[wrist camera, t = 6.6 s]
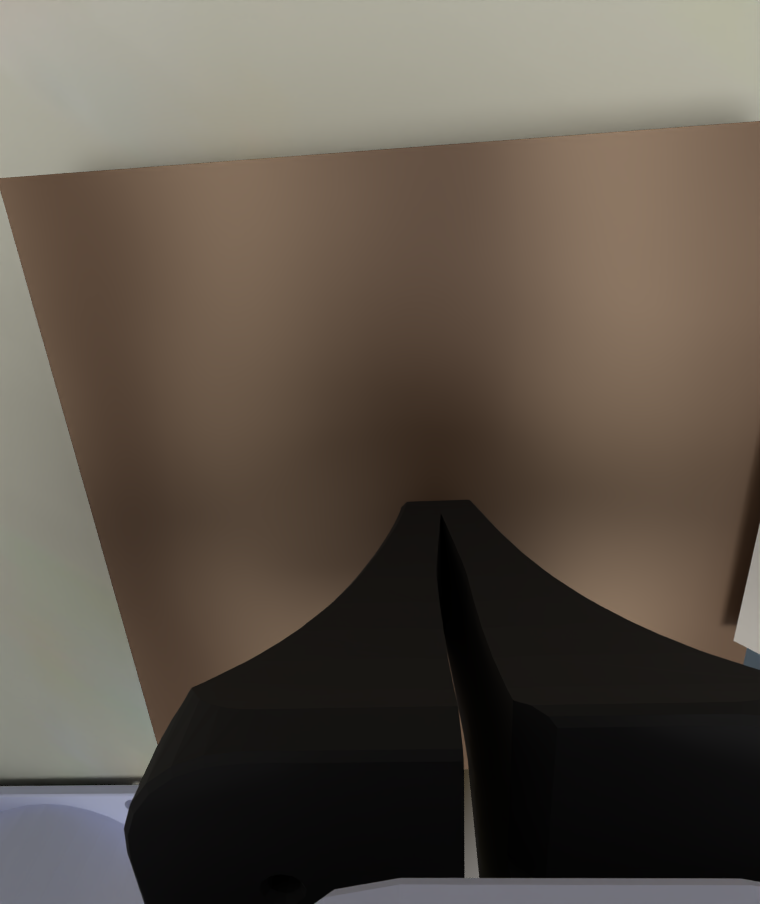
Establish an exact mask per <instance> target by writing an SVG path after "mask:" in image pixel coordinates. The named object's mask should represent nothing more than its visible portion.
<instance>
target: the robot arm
mask: <svg viewBox="0 0 760 904" xmlns="http://www.w3.org/2000/svg"><path fill="white" fill-rule="evenodd" d="M448 659H449V660H448ZM449 664H450V665H449ZM450 669H451V670H450ZM451 674H452V675H451ZM452 679H453V680H452ZM453 684H454V685H453ZM454 689H455V690H454ZM455 694H456V695H455ZM459 713H460V718H461V723H462V728H463V733H464V740H465V746H466V752H467V759H468V768H469V778H470V788H471V797H472V807H473V817H474V827H475V837H476V848H477V858H478V868H479V878H464V756H463V744H462V736H461V727H460V718H459ZM0 904H760V670H758V669H755V668H752V667H749V666H746V665H743V664H740V663H737V662H734V661H730V660H727V659H724V658H721V657H718V656H715V655H712V654H709V653H706V652H703V651H700V650H698V649H695V648H692V647H690V646H687V645H685V644H682V643H680V642H678V641H675V640H673V639H670V638H668V637H665V636H663V635H660V634H658V633H655V632H653V631H651V630H649V629H647V628H644V627H642V626H640V625H638V624H636V623H633V622H631V621H629V620H627V619H625V618H623V617H622V616H620V615H618V614H616V613H614V612H612V611H610V610H608V609H606V608H604V607H602V606H600V605H598V604H597V603H595V602H593V601H591V600H590V599H588V598H586V597H584V596H583V595H581V594H580V593H578V592H576V591H575V590H573V589H572V588H570V587H569V586H567V585H566V584H564V583H562V582H561V581H559V580H558V579H556V578H555V577H553V576H552V575H551V574H549V573H548V572H546V571H545V570H544V569H542V568H541V567H540V566H539V565H537V564H536V563H535V562H534V561H532V560H531V559H530V558H529V557H527V556H526V555H525V554H524V553H522V552H521V551H520V550H519V549H518V548H517V547H516V546H515V545H514V544H513V543H511V542H510V541H509V540H508V539H507V538H506V537H505V536H504V535H503V534H502V533H501V532H500V531H499V530H498V529H497V528H496V527H495V526H494V525H493V524H492V523H491V522H490V521H489V520H488V519H487V518H486V516H485V515H484V514H483V513H482V512H481V511H480V510H479V509H478V508H477V507H476V506H475V505H474V504H473V503H472V502H471V501H470V500H442V501H414V502H406V503H405V504H404V505H403V506H402V507H401V510H400V513H399V515H398V517H397V519H396V521H395V523H394V525H393V527H392V528H391V530H390V532H389V534H388V535H387V537H386V538H385V540H384V541H383V543H382V544H381V546H380V547H379V549H378V550H377V552H376V553H375V555H374V556H373V557H372V558H371V560H370V561H369V562H368V564H367V565H366V566H365V567H364V569H363V570H362V571H361V572H360V574H359V575H358V576H357V577H356V578H355V580H354V581H353V582H352V583H351V584H350V585H349V586H348V587H347V588H346V589H345V590H344V591H343V592H342V593H341V594H340V595H339V596H338V597H337V598H336V599H335V600H334V601H333V602H332V603H331V604H330V605H329V606H328V607H326V608H325V609H324V610H323V611H321V612H320V613H319V614H318V615H316V616H315V617H314V618H313V619H311V620H310V621H309V622H307V623H306V624H305V625H304V626H302V627H301V628H300V629H298V630H297V631H295V632H294V633H292V634H291V635H289V636H288V637H286V638H285V639H283V640H282V641H280V642H279V643H277V644H275V645H274V646H272V647H270V648H269V649H267V650H265V651H264V652H262V653H261V654H259V655H257V656H255V657H253V658H252V659H250V660H248V661H246V662H244V663H242V664H240V665H238V666H236V667H234V668H232V669H230V670H228V671H226V672H224V673H222V674H220V675H218V676H216V677H214V678H212V679H210V680H208V681H206V682H203V683H201V684H199V685H197V686H194V687H192V688H191V689H190V691H189V692H188V694H187V696H186V698H185V699H184V701H183V703H182V705H181V706H180V708H179V709H178V711H177V712H176V714H175V715H174V717H173V718H172V720H171V722H170V724H169V725H168V727H167V729H166V731H165V733H164V734H163V736H162V738H161V740H160V742H159V744H158V746H157V748H156V750H155V752H154V754H153V756H152V759H151V761H150V763H149V765H148V767H147V769H146V771H145V774H144V776H143V778H142V780H141V782H140V784H139V785H68V786H0Z"/></svg>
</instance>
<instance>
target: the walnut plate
mask: <svg viewBox="0 0 760 904" xmlns="http://www.w3.org/2000/svg"><path fill="white" fill-rule="evenodd" d="M0 191H1V194H2V198H3V201H4V205H5V208H6V212H7V215H8V219H9V222H10V226H11V229H12V233H13V236H14V240H15V244H16V247H17V251H18V254H19V258H20V261H21V265H22V268H23V272H24V275H25V279H26V282H27V286H28V289H29V293H30V296H31V300H32V303H33V307H34V311H35V314H36V318H37V321H38V325H39V328H40V332H41V335H42V339H43V342H44V346H45V349H46V353H47V356H48V360H49V363H50V367H51V370H52V374H53V378H54V381H55V385H56V388H57V392H58V395H59V399H60V402H61V406H62V409H63V413H64V416H65V420H66V423H67V427H68V430H69V434H70V437H71V441H72V445H73V448H74V452H75V455H76V459H77V462H78V466H79V469H80V473H81V476H82V480H83V483H84V487H85V490H86V494H87V497H88V501H89V504H90V508H91V512H92V515H93V519H94V522H95V526H96V529H97V533H98V536H99V540H100V543H101V547H102V550H103V554H104V557H105V561H106V564H107V568H108V571H109V575H110V579H111V582H112V586H113V589H114V593H115V596H116V600H117V603H118V607H119V610H120V614H121V617H122V621H123V624H124V628H125V631H126V635H127V638H128V642H129V646H130V649H131V653H132V656H133V660H134V663H135V667H136V670H137V674H138V677H139V681H140V684H141V688H142V691H143V695H144V698H145V702H146V705H147V709H148V713H149V716H150V720H151V723H152V727H153V730H154V734H155V737H156V741H157V744H159V742H160V740H161V738H162V736H163V734H164V733H165V731H166V729H167V727H168V725H169V724H170V722H171V720H172V718H173V717H174V715H175V714H176V712H177V711H178V709H179V708H180V706H181V705H182V703H183V701H184V699H185V698H186V696H187V694H188V692H189V691H190V689H191V688H192V687H194V686H197V685H199V684H201V683H203V682H206V681H208V680H210V679H212V678H214V677H216V676H218V675H220V674H222V673H224V672H226V671H228V670H230V669H232V668H234V667H236V666H238V665H240V664H242V663H244V662H246V661H248V660H250V659H252V658H253V657H255V656H257V655H259V654H261V653H262V652H264V651H265V650H267V649H269V648H270V647H272V646H274V645H275V644H277V643H279V642H280V641H282V640H283V639H285V638H286V637H288V636H289V635H291V634H292V633H294V632H295V631H297V630H298V629H300V628H301V627H302V626H304V625H305V624H306V623H307V622H309V621H310V620H311V619H313V618H314V617H315V616H316V615H318V614H319V613H320V612H321V611H323V610H324V609H325V608H326V607H328V606H329V605H330V604H331V603H332V602H333V601H334V600H335V599H336V598H337V597H338V596H339V595H340V594H341V593H342V592H343V591H344V590H345V589H346V588H347V587H348V586H349V585H350V584H351V583H352V582H353V581H354V580H355V578H356V577H357V576H358V575H359V574H360V572H361V571H362V570H363V569H364V567H365V566H366V565H367V564H368V562H369V561H370V560H371V558H372V557H373V556H374V555H375V553H376V552H377V550H378V549H379V547H380V546H381V544H382V543H383V541H384V540H385V538H386V537H387V535H388V534H389V532H390V530H391V528H392V527H393V525H394V523H395V521H396V519H397V517H398V515H399V513H400V510H401V507H402V506H403V505H404V504H405V503H406V502H414V501H442V500H470V501H471V502H472V503H473V504H474V505H475V506H476V507H477V508H478V509H479V510H480V511H481V512H482V513H483V514H484V515H485V516H486V518H487V519H488V520H489V521H490V522H491V523H492V524H493V525H494V526H495V527H496V528H497V529H498V530H499V531H500V532H501V533H502V534H503V535H504V536H505V537H506V538H507V539H508V540H509V541H510V542H511V543H513V544H514V545H515V546H516V547H517V548H518V549H519V550H520V551H521V552H522V553H524V554H525V555H526V556H527V557H529V558H530V559H531V560H532V561H534V562H535V563H536V564H537V565H539V566H540V567H541V568H542V569H544V570H545V571H546V572H548V573H549V574H551V575H552V576H553V577H555V578H556V579H558V580H559V581H561V582H562V583H564V584H566V585H567V586H569V587H570V588H572V589H573V590H575V591H576V592H578V593H580V594H581V595H583V596H584V597H586V598H588V599H590V600H591V601H593V602H595V603H597V604H598V605H600V606H602V607H604V608H606V609H608V610H610V611H612V612H614V613H616V614H618V615H620V616H622V617H623V618H625V619H627V620H629V621H631V622H633V623H636V624H638V625H640V626H642V627H644V628H647V629H649V630H651V631H653V632H655V633H658V634H660V635H663V636H665V637H668V638H670V639H673V640H675V641H678V642H680V643H682V644H685V645H687V646H690V647H692V648H695V649H698V650H700V651H703V652H706V653H709V654H712V655H715V656H718V657H721V658H724V659H727V660H730V661H734V662H737V663H740V664H743V663H744V659H745V654H746V650H747V647H745V646H743V645H741V644H739V643H737V642H735V641H734V636H735V632H736V627H737V623H738V618H739V614H740V609H741V605H742V601H743V596H744V592H745V587H746V583H747V578H748V574H749V569H750V565H751V560H752V556H753V551H754V547H755V542H756V538H757V534H758V529H759V525H760V121H755V122H742V123H729V124H716V125H702V126H689V127H676V128H662V129H649V130H636V131H622V132H609V133H596V134H582V135H569V136H556V137H543V138H529V139H516V140H503V141H489V142H476V143H463V144H449V145H436V146H423V147H409V148H396V149H383V150H370V151H356V152H343V153H330V154H316V155H303V156H290V157H276V158H263V159H250V160H236V161H223V162H210V163H197V164H183V165H170V166H157V167H143V168H130V169H117V170H103V171H90V172H77V173H63V174H50V175H37V176H24V177H10V178H0ZM448 660H449V659H448ZM449 665H450V664H449ZM450 670H451V669H450ZM451 675H452V674H451ZM452 680H453V679H452ZM453 685H454V684H453ZM454 690H455V689H454ZM455 695H456V694H455ZM459 718H460V713H459ZM460 727H461V736H462V744H463V756H464V769H469V768H468V759H467V752H466V746H465V740H464V733H463V728H462V723H461V718H460Z"/></svg>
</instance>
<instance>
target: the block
mask: <svg viewBox="0 0 760 904" xmlns="http://www.w3.org/2000/svg"><path fill="white" fill-rule="evenodd" d="M734 641H735V642H737V643H739V644H741V645H743V646H745V647H747V648H749V649H750V650H752V651H754V652H756V653H758V654H760V525H759V529H758V534H757V538H756V542H755V547H754V551H753V556H752V560H751V565H750V569H749V574H748V578H747V583H746V587H745V592H744V596H743V601H742V605H741V609H740V614H739V618H738V623H737V627H736V632H735V636H734Z"/></svg>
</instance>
